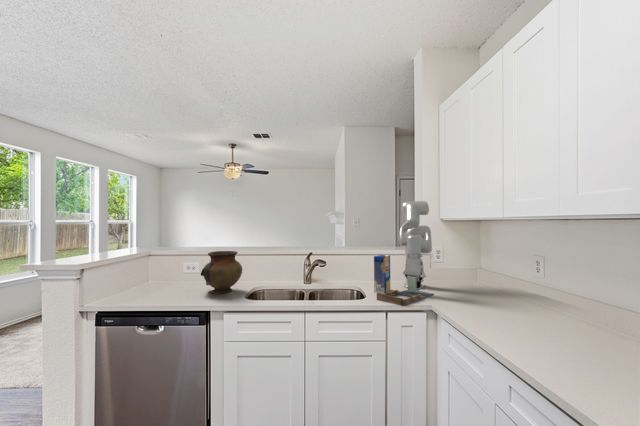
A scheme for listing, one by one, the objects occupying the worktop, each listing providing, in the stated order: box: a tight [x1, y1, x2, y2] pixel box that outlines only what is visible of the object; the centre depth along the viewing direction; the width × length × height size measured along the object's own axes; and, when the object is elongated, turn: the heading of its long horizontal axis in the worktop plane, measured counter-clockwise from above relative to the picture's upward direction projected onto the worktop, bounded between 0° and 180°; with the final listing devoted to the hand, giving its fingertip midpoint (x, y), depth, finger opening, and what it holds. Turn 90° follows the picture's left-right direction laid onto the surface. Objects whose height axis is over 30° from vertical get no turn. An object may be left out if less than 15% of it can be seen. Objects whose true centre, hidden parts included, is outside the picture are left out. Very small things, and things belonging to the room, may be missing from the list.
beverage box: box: [373, 254, 391, 294], centre depth 190 cm, size 7×11×22 cm, turn 150°
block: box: [407, 275, 422, 292], centre depth 180 cm, size 6×5×8 cm
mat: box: [398, 289, 435, 300], centre depth 181 cm, size 14×16×1 cm
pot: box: [200, 250, 243, 295], centre depth 189 cm, size 25×24×25 cm
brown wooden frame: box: [376, 289, 422, 306], centre depth 169 cm, size 19×16×4 cm
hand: (414, 286), depth 180 cm, fingers closed on block, 5 cm apart
